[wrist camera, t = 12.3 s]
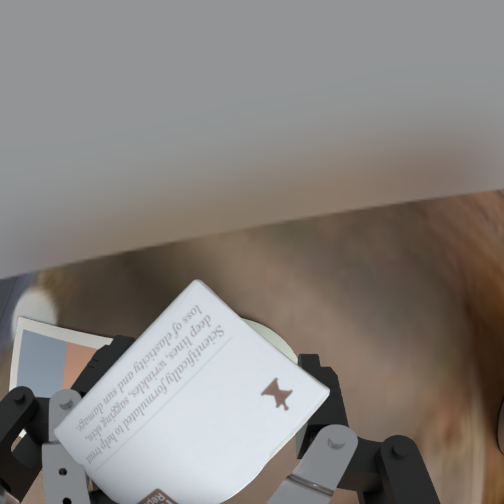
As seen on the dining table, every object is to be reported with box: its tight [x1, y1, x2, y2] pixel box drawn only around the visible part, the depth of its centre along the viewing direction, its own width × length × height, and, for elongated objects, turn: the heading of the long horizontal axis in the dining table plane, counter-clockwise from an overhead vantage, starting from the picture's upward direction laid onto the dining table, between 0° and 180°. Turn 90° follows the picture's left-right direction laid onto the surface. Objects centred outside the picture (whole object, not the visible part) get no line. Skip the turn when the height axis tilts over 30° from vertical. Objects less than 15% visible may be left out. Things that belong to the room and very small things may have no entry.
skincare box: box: [53, 279, 330, 504], centre depth 11 cm, size 6×4×12 cm
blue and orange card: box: [9, 317, 113, 438], centre depth 18 cm, size 13×11×1 cm
